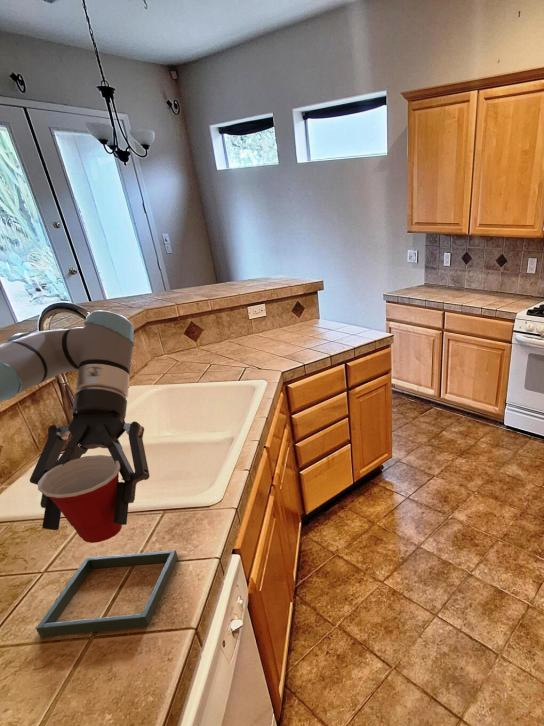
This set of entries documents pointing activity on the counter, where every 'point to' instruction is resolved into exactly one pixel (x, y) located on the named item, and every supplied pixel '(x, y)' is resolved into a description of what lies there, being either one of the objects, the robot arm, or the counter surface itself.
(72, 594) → the grey square frame
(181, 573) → the counter surface
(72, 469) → the plastic cup
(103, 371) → the robot arm
